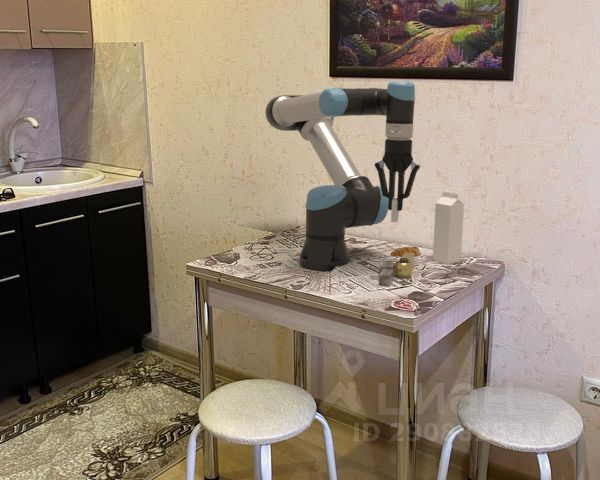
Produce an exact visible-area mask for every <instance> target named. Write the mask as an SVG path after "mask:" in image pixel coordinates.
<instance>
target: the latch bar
mask: <svg viewBox="0 0 600 480" xmlns="http://www.w3.org/2000/svg"><path fill="white" fill-rule="evenodd" d="M400 258H407V259H408V263H401V262H399V261H400V259H399V260H397V261H395V273H394V276H395V277H396V278H399V279H410V278H411V277H412V271H413V269H414V267H415V261H416V260H415V258H416V256H415V253H409V252H404V254H403V255H402V257H400Z"/></svg>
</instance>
